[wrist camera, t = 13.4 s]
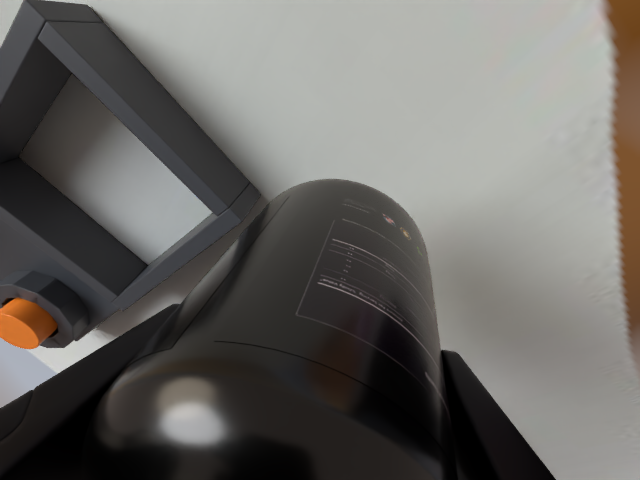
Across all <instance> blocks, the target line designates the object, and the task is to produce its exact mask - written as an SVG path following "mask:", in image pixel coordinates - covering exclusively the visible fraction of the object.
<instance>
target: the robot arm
mask: <svg viewBox="0 0 640 480" xmlns="http://www.w3.org/2000/svg"><path fill="white" fill-rule="evenodd" d="M179 305H180V304H172V305H170V306H169V307H167V308H165V309H164V310H162V311H160V312H159V313H157V314H156V315H154V316H152V317H151V318H149V319H147V320H146V321H144V322H142V323H141V324H139V325H137V326H136V327H134V328H132V329H131V330H129V331H128V332H126V333H124V334H123V335H121V336H119V337H118V338H116V339H114V340H113V341H111V342H109V343H108V344H106V345H104V346H103V347H101V348H100V349H98V350H96V351H95V352H93V353H91V354H90V355H88V356H86V357H85V358H83V359H81V360H80V361H78V362H76V363H75V364H73V365H72V366H70V367H68V368H67V369H65V370H63V371H62V372H60V373H58V374H57V375H55V376H53V377H52V378H50V379H49V380H47V381H45V382H44V383H42V384H40V385H39V386H37V387H36V388H35V389H34V390H31V391H29V392H27V393H26V394H24V395H22V396H20V397H19V398H17V399H15V400H14V401H12V402H10V403H9V404H7V405H5V406H4V407H2V408H0V480H82V474H81V461H82V451H83V444H84V440H85V436H86V432H87V429H88V426H89V423H90V420H91V417H92V415H93V412H94V410H95V408H96V406H97V404H98V403H99V401H100V399H101V398H102V396H103V395H104V393H105V392H106V391H107V389H108V388H109V387H110V385H111V384H112V383H113V382H114V381H115V379H116V378H117V377H118V375H119V374H120V373H121V372H122V370H123V369H124V368H125V367H126V366H127V365H128V363H129V362H130V361H131V360H132V359H133V358H134V356H135V355H136V354H137V353H138V352H139V351H140V350H141V348H142V347H143V346H144V345H145V344H146V343H147V342H148V340H149V339H150V338H151V337H152V336H153V335H154V334H155V332H156V331H157V330H158V329H159V328H160V327H161V326H162V324H163V323H164V322H165V321H166V320H167V319H168V317H169V316H170V315H171V314H172V313H173V312H174V311H175V309H176V308H177V307H178V306H179ZM441 354H442V362H443V369H444V377H445V384H446V391H447V399H448V406H449V414H450V421H451V429H452V436H453V444H454V451H455V459H456V466H457V474H458V480H556V479H555V478H554V476H553V475H552V474H551V473H550V471H549V470H548V469H547V467H546V466H545V465H544V464H543V462H542V461H541V460H540V458H539V457H538V456H537V454H536V453H535V452H534V451H533V449H532V448H531V447H530V445H529V444H528V443H527V442H526V440H525V439H524V438H523V436H522V435H521V434H520V433H519V431H518V430H517V429H516V427H515V426H514V425H513V423H512V422H511V421H510V420H509V418H508V417H507V416H506V414H505V413H504V412H503V411H502V409H501V408H500V407H499V405H498V404H497V403H496V402H495V400H494V399H493V398H492V396H491V395H490V394H489V393H488V391H487V390H486V389H485V387H484V386H483V385H482V383H481V382H480V381H479V380H478V378H477V377H476V376H475V374H474V373H473V372H472V371H471V369H470V368H469V367H468V365H467V364H466V363H465V362H464V360H463V359H462V358H461V356H460V355H459V354H458V353H456V352H453V351H447V350H441Z"/></svg>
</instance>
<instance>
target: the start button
mask: <svg viewBox="0 0 640 480" xmlns="http://www.w3.org/2000/svg"><path fill="white" fill-rule="evenodd" d="M57 327H58V324H57V323H56V321H55V320H54V319H53V318H52V316H51V315H50V314H49V313H48V312H47V311H46V310H44V309H43V308H41V307H40V306H39V305H37V304H36V303H33V302H30V301H27V300H24V299H22V298H15V299H13V300H12V301H10V302H9V303H8V304H6V305H5V306H4V307H2V308H1V309H0V337H1V338H2V339H4V340H5V341H6V342H8V343H10V344H12V345H14V346H17V347H20V348H24V349H34V348H36V347H38V346H39V345H40V344H41V343H42V342H43V341H44V340H45V339H46V338H48V337H49V336H50V335H51V334H52V333H53V332H54V331H55V330H56V329H57Z"/></svg>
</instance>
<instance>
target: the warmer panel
mask: <svg viewBox="0 0 640 480" xmlns="http://www.w3.org/2000/svg"><path fill="white" fill-rule="evenodd" d="M15 298H22V299H24V300H27V301H30V302H33V303H36V304H37V305H39V306H40V307H41V308H43V309H44V310H46V311H47V312H48V313H49V314H50V315H51V316H52V318H53V319H54V320H55V321H56V323H57V324H58V327H57V329H56V330H55V331H54V332H53V333H52V334H51V335H50V336H49V337H48V338H46V339H45V340H44V341H43V342H42V343H41V344H40V346H43V347H46V348H65V347H66V346H67V345H68V344H70V343H71V342H72V341H74V340H75V341H78V340H80V339H81V338H82V337H83V336H85V335H86V334H87V333H89V332H90V331H91V330H93V329H94V328H95V327H97V326H98V325H99V324H100V323H102V322H103V321H104V320H106V319H107V318H108V317H110V316H111V315H112V314H113V313H115V312H116V311H117V310H119V308H118V307H116V306H115V305H114V304H112V303H111V302H110V301H108V300H107V299H106V298H104V297H103V296H102V295H100V294H99V293H98V292H96V291H95V290H94V289H92V288H91V287H90V286H89V285H87V284H86V283H85V282H83V281H82V280H81V279H79V278H78V277H77V276H75V275H74V274H73V273H71V272H70V271H69V270H67V269H66V268H65V267H63V266H62V265H61V264H59V263H58V262H57V261H56V260H54V259H53V258H52V257H50V256H49V255H48V254H46V253H45V252H44V251H42V250H41V249H40V248H38V247H37V246H36V245H34V244H33V243H32V242H30V241H29V240H28V239H26V238H25V237H24V236H22V235H21V234H20V233H19V232H17V231H16V230H15V229H13V228H12V227H11V226H9V225H8V224H7V223H5V222H4V221H3V220H1V219H0V309H1V308H2V307H4V306H5V305H6V304H8V303H9V302H10V301H12V300H13V299H15Z"/></svg>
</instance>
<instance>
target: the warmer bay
mask: <svg viewBox="0 0 640 480" xmlns="http://www.w3.org/2000/svg"><path fill="white" fill-rule="evenodd" d="M71 73H73V74H74V75H75V76H76V77H77V78H78V79H79V80H80V81H81V82H82V83H83V84H84V85H85V86H86V87H87V88H88V89H89V90H90V91H91V92H92V93H93V94H94V95H95V96H96V97H97V98H98V99H99V100H100V101H101V102H102V103H103V104H104V105H105V106H106V107H107V108H108V109H109V110H110V111H111V112H112V113H113V114H114V115H115V116H116V117H117V118H118V119H119V120H120V121H121V122H122V123H123V124H124V125H125V126H126V127H127V128H128V129H129V130H130V131H131V132H132V133H133V134H134V135H135V136H136V137H137V138H138V139H139V140H140V141H141V142H142V143H143V144H144V145H145V146H146V147H147V148H148V149H149V150H150V151H151V152H152V153H153V154H154V155H155V156H156V157H157V158H159V159H160V160H161V161H162V162H163V163H164V164H165V165H166V166H167V167H168V168H169V169H170V170H171V171H172V172H173V173H174V174H175V175H176V176H177V177H178V178H179V179H180V180H181V181H182V182H183V183H184V184H185V185H186V186H187V187H188V188H189V189H190V190H191V191H192V192H193V193H194V194H195V195H196V196H197V197H198V198H199V199H200V200H201V201H202V202H203V203H204V204H205V205H206V206H207V207H208V208H209V209H210V210H211V211H212V212H213V213H212V214H211V215H210V216H208V217H207V218H206V219H205V220H204V221H202V222H201V223H200V224H199V225H197V226H196V227H195V228H194V229H193V230H191V231H190V232H189V233H188V234H186V235H185V236H184V237H183V238H181V239H180V240H179V241H178V242H177V243H175V244H174V245H173V246H172V247H170V248H169V249H168V250H167V251H166V252H164V253H163V254H162V255H161V256H159V257H158V258H157V259H156V260H155V261H153V262H152V263H151V264H150V265H148V266H147V265H146V264H145V263H144V262H142V261H141V260H140V259H139V258H138V257H136V256H135V255H134V254H133V253H132V252H131V251H129V250H128V249H127V248H126V247H125V246H123V245H122V244H121V243H120V242H119V241H117V240H116V239H115V238H114V237H113V236H111V235H110V234H109V233H108V232H107V231H106V230H104V229H103V228H102V227H101V226H100V225H98V224H97V223H96V222H95V221H94V220H92V219H91V218H90V217H89V216H88V215H86V214H85V213H84V212H83V211H82V210H81V209H79V208H78V207H77V206H76V205H75V204H73V203H72V202H71V201H70V200H69V199H67V198H66V197H65V196H64V195H63V194H61V193H60V192H59V191H58V190H57V189H56V188H54V187H53V186H52V185H51V184H50V183H48V182H47V181H46V180H45V179H44V178H42V177H41V176H40V175H39V174H38V173H36V172H35V171H34V170H33V169H32V168H31V167H29V166H28V165H27V164H26V163H25V162H23V161H22V160H21V159H20V158H17V157H18V156H19V154H20V153H21V151H22V149H23V148H24V146H25V145H26V143H27V142H28V140H29V138H30V137H31V135H32V134H33V132H34V131H35V129H36V128H37V126H38V124H39V123H40V121H41V120H42V118H43V117H44V115H45V113H46V112H47V110H48V109H49V107H50V106H51V104H52V102H53V101H54V99H55V98H56V96H57V95H58V93H59V92H60V90H61V88H62V87H63V85H64V84H65V82H66V81H67V79H68V77H69V76H70V74H71ZM260 195H261V194H260V193H259V192H258V191H257V189H256V188H255V187H254V186H253V185H252V184H251V183H250V182H249V181H248V180H247V179H246V177H245V176H244V175H243V174H242V173H241V172H240V171H239V170H238V169H237V168H236V167H235V165H234V164H233V163H232V162H231V161H230V160H229V159H228V158H227V157H226V156H225V155H224V153H223V152H222V151H221V150H220V149H219V148H218V147H217V146H216V145H215V144H214V143H213V141H212V140H211V139H210V138H209V137H208V136H207V135H206V134H205V133H204V132H203V131H202V129H201V128H200V127H199V126H198V125H197V124H196V123H195V122H194V121H193V120H192V119H191V117H190V116H189V115H188V114H187V113H186V112H185V111H184V110H183V109H182V108H181V107H180V105H179V104H178V103H177V102H176V101H175V100H174V99H173V98H172V97H171V96H170V95H169V93H168V92H167V91H166V90H165V89H164V88H163V87H162V86H161V85H160V84H159V83H158V81H157V80H156V79H155V78H154V77H153V76H152V75H151V74H150V73H149V72H148V71H147V69H146V68H145V67H144V66H143V65H142V64H141V63H140V62H139V61H138V60H137V59H136V57H135V56H134V55H133V54H132V53H131V52H130V51H129V50H128V49H127V48H126V47H125V45H124V44H123V43H122V42H121V41H120V40H119V39H118V38H117V37H116V36H115V35H114V33H113V32H112V31H111V30H110V29H109V28H108V27H107V26H106V25H105V24H104V23H103V22H102V21H101V19H100V18H99V17H98V16H97V15H96V14H95V13H94V12H93V11H92V10H91V9H90V7H89V6H88V5H84V4H75V3H65V2H55V1H45V0H23V2H22V4H21V7H20V9H19V11H18V13H17V15H16V17H15V19H14V21H13V23H12V25H11V27H10V29H9V31H8V33H7V35H6V38H5V40H4V42H3V44H2V46H1V48H0V219H1V220H3V221H4V222H5V223H7V224H8V225H9V226H11V227H12V228H13V229H15V230H16V231H17V232H19V233H20V234H21V235H22V236H24V237H25V238H26V239H28V240H29V241H30V242H32V243H33V244H34V245H36V246H37V247H38V248H40V249H41V250H42V251H44V252H45V253H46V254H48V255H49V256H50V257H52V258H53V259H54V260H56V261H57V262H58V263H59V264H61V265H62V266H63V267H65V268H66V269H67V270H69V271H70V272H71V273H73V274H74V275H75V276H77V277H78V278H79V279H81V280H82V281H83V282H85V283H86V284H87V285H89V286H90V287H91V288H92V289H94V290H95V291H96V292H98V293H99V294H100V295H102V296H103V297H104V298H106V299H107V300H108V301H110V302H111V303H112V304H114V305H115V306H116V307H118V308H119V309H120V310H122V311H124V310H125V309H127V308H128V307H129V306H131V305H132V304H133V303H135V302H136V301H137V300H139V299H140V298H141V297H143V296H144V295H145V294H147V293H148V292H149V291H151V290H152V289H153V288H155V287H156V286H157V285H159V284H160V283H161V282H163V281H164V280H165V279H167V278H168V277H169V276H171V275H172V274H173V273H175V272H176V271H177V270H179V269H180V268H181V267H182V266H184V265H185V264H186V263H188V262H189V261H190V260H192V259H193V258H194V257H196V256H197V255H198V254H200V253H201V252H202V251H204V250H205V249H206V248H208V247H209V246H210V245H212V244H213V243H214V242H216V241H217V240H218V239H220V238H221V237H222V236H224V235H225V234H226V233H228V232H229V231H230V230H232V229H233V228H234V227H236V226H237V225H238V224H240V223H241V222H242V221H243V220H244V218H245V217H246V215H247V214H248V213H249V211H250V210H251V208H252V207H253V205H254V204H255V203H256V201H257V200H258V198H259V197H260Z"/></svg>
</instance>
